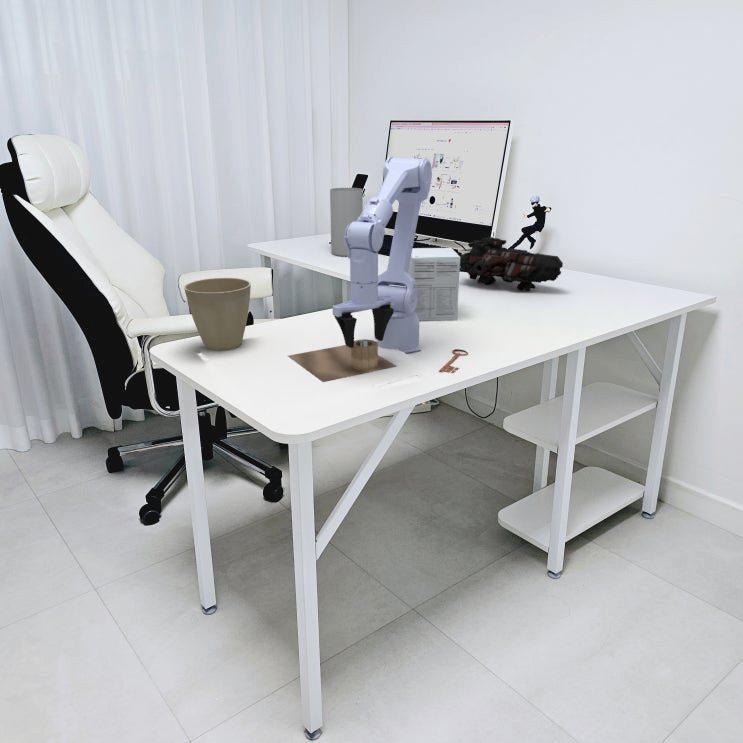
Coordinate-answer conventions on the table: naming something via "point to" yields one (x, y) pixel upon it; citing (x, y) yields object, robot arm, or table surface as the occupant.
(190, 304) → the plant pot
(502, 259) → the spaceship model
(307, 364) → the fabric cloth
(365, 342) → the silver metal cylinder
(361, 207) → the cylinder vase
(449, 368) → the key
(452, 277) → the supplement box
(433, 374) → the table surface
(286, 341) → the table surface
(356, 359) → the bead
